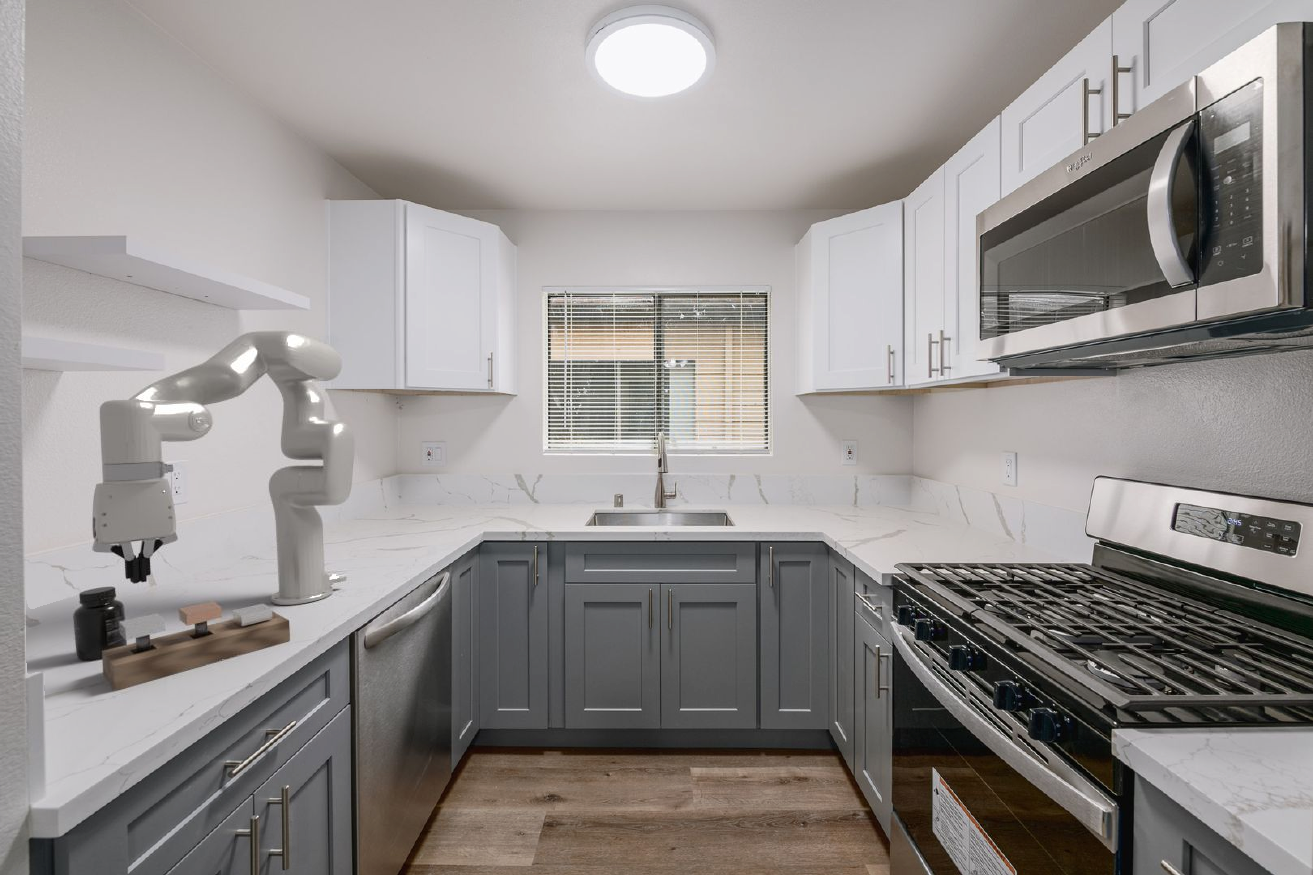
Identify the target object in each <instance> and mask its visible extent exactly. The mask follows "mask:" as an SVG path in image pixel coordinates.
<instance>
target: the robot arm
mask: <svg viewBox="0 0 1313 875" xmlns="http://www.w3.org/2000/svg"><path fill="white" fill-rule="evenodd" d="M341 370H342V358H341V356H340V354H339V353H338V351H337V350H336V349H335V348H334V347H333V346H331V345H329V344H327V343H325V342H322V341H320V340H317V339H314V338H312V337H309V336H307V335H304V334H302V333H298V332H295V331H291V330H290V331H289V330H270V331H269V330H267V331H263V330H262V331H261V330H260V331H249V332H246V333H243V334H241V335H240V336H238V337H237V338H236V339H234V340H233V341H232V342H230V343H229V344H227V345H226V346H225V347H224V348H222V349H221V350H220V351H218V352H217V353H216V354H214V355H213V356H211V357H210V358H208V359H207V360H206V361H204V362H203V363H200V364H198V365H195V366H192V367H189V368H187V369H186V368H185V369H183V370H182V371H180V372H177V373H175V374H172V375H169V376H166V377H164V378H162V379H160V380H157V381H155V382H153V383H151V384H149V385H148V386H145V387H144V388H142V389H141V390H140V391H138V392H137V393H136V394H134V395H132V396H131V397H130V398H128V399H113V400H107V401H104V402H103V403H101V405H100V406H99V429H100V430H99V433H100V450H101V471H102V472H101V473H102V482H100V483H96V484H95V488H94V492H93V493H94V494H93V500H92V516H91V517H92V520H91V521H92V522H91V523H92V525H91V526H92V530H91V531H92V537H93V539H94V541H93V544H92V547H91V549H92V551H93V552H94V553H105V554H107V553H108V554H109V553H110V554H112V553H113V554H115V555H117V556H118V557H120V558H121V559H123V560H124V569H125V570H124V573H125V574H124V575H125V580H130V582H131V583H132V584H134V585H135V584H139V583H140V582H141V583H145V582H147V580H148V579H147V576H150V575H151V573H152V572H151V557H153V555H154V554H155V552H157V551H158V550H159V549H160V548H161V547H162V546H165V545H168V544H171V543H174V542H176V541H178V539H179V538H178V535H177V532H176V530H177V520H176V512H175V504H174V499H173V494H172V489H171V486H170V483H169V480H168V478H164V477H165V475H166V474H168V473H172V472H173V473H174V465H173V464H167V463H164V461H163V456H162V453H163V452H162V442H166V443H167V442H169V443H172V442H173V443H174V442H179V443H180V442H181V443H183V442H192V441H196V440H199V439H201V438H203V437H204V436H206V435H207V434H208V433H210V430H211V429H212V427H213V423H214V419H213V415H212V413H211V412H210V410H209V409H208V408H207V407H206V406H208V405H212V404H218V403H222V402H225V401H229V400H232V399H234V398H238V397H239V396H241V395H243V394H244V393H245V392H246V391H247V390H248V389H249V388H251V387H252V386H253V385H254V384H255V383H257V381H259V379H261V378H262V377H263V376H264V375H265V374H266V375H267V376H268V377H269V378H270V379H271V380H272V382H273V383H274V384H275V385H276V387H277V389H278V390H279V392H280V394H281V397H282V402H283V412H282V421H281V422H282V423H281V432H280V433H281V434H280V448H281V453H282V454H283V456H284V457H286V458H288V459H291V460H294V461H295V460H297V461H322V464H323V465H314V464H312V465H309V464H308V465H289V466H285V467H281V468H280V469H277V470H276V471H274V472H273V474H272V475H271V476H270V478H269V480H268V491H269V492H268V493H269V496H270V501H271V504H272V507H273V511H274V520H275V534H276V537H275V538H276V555H277V556H276V558H277V576H278V592H275V593H274V594H272V595H271V597H270V598H271V601H270V602H271V603H272V604H274V605H280V606H288V605H291V606H293V605H300V604H306V603H311V602H315V601H319V600H321V599H325V598H327V597H330V596H331V595H332V594H333V592H334V589H333V587H332V585H334V584H335V583H341V582H346V581H347V574H346V573H345V572H343V573H339V574H336V573H333V574H328V573H326V572H325V569H326V568H325V554H324V553H325V549H324V547H325V546H324V525H323V524H324V523H323V520H322V517H321V515H320V513H319V511H318V510H317V508H316V507H317V506H319V507H320V506H321V507H322V506H325V507H326V506H338V505H342V504H344V502H346V501H347V500H348V499H349V496H350V494H351V491H352V487H353V486H352V485H353V474H354V463H355V462H354V459H355V448H356V446H355V444H356V442H355V437H354V434H353V431H352V428H350V426H349V425H348V424H347V423H345V422H343V421H340V420H333V419H332V420H331V419H329V420H328V419H327V420H325V400H324V396H322V393H321V392H320V390H319V389H318V388H317V387H316V386H315V384H314V383H313V382H328V381H329V382H330V381H333V380H335V379H336V378H337V377H338V376H339V374H340V373H341ZM315 506H316V507H315ZM140 541H141V543H140V549H139V550H140V551H139V553H137V554H138V555H137V556H136V555H135V553H134V550H133V545H132V543H133V542H140Z"/></svg>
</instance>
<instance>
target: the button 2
mask: <svg viewBox="0 0 1313 875" xmlns="http://www.w3.org/2000/svg"><path fill="white" fill-rule="evenodd" d="M272 611H273V608H272V607H270V606H268V605H267V604H264V603H260V604H255V605H251V606H247V607H242V608H238V609H232V619H233V621H234V622H236V623H237V624H239V625H240V626H246V625H247V626H248V625H252V624H256V623H259V622H261V621H265V620H269V619H273V618H272Z"/></svg>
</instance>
